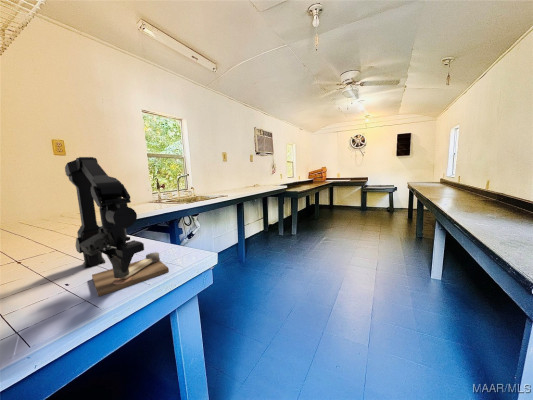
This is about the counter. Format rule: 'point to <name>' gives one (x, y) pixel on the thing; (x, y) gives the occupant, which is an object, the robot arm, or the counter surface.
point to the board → (109, 284)
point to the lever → (117, 269)
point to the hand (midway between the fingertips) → (120, 270)
